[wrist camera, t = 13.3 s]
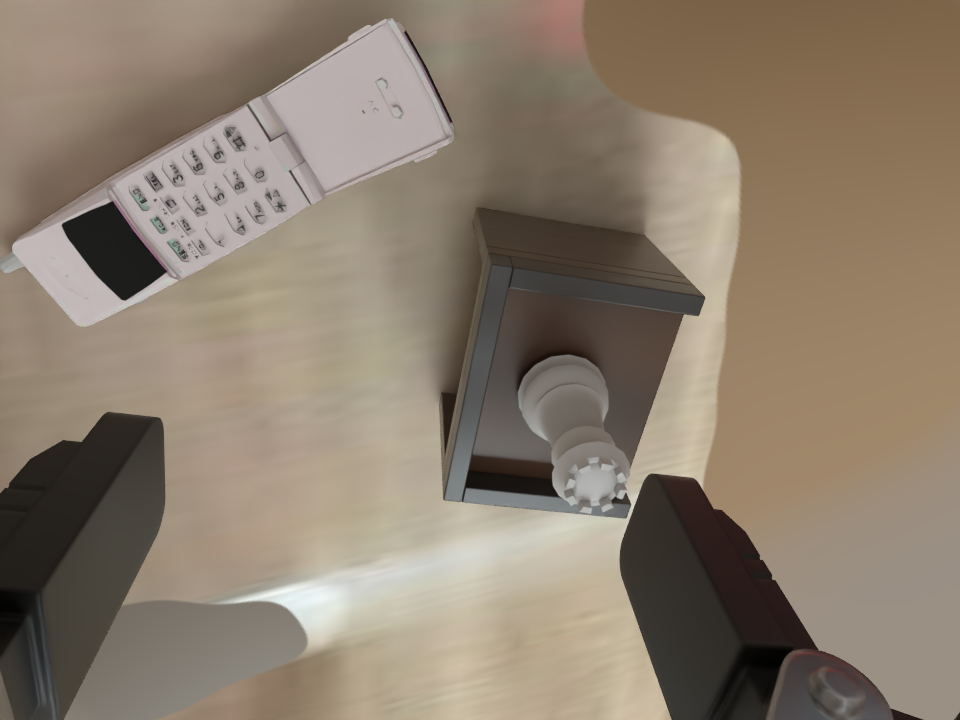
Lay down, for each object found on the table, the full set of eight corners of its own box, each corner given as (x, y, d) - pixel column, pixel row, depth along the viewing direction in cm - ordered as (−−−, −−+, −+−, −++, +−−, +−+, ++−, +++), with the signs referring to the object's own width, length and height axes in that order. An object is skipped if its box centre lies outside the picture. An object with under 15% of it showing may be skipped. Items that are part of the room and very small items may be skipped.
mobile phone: (463, 140, 30) (21, 382, 34) (457, 123, 36) (75, 333, 39) (395, 5, 28) (-76, 281, 31) (399, 8, 33) (-4, 244, 37)
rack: (475, 207, 38) (491, 263, 29) (645, 235, 39) (706, 296, 31) (439, 405, 43) (443, 500, 35) (588, 423, 45) (626, 519, 36)
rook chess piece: (611, 412, 35) (660, 514, 28) (529, 437, 35) (555, 544, 28) (593, 338, 33) (640, 429, 26) (505, 365, 33) (528, 461, 26)
